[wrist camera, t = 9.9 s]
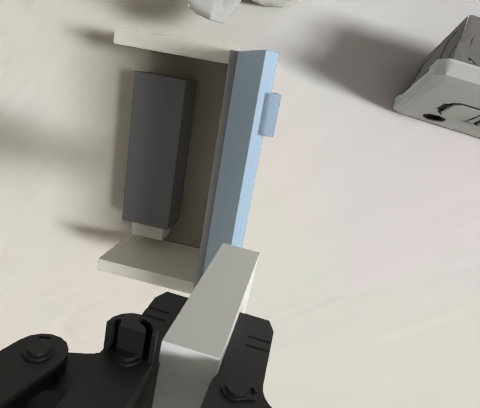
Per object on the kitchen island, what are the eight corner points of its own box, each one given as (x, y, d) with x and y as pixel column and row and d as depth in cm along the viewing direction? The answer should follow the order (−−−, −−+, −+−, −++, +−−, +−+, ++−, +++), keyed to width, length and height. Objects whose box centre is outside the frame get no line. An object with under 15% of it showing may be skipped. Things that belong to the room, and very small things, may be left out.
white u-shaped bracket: (150, 36, 33) (114, 27, 27) (260, 56, 31) (247, 50, 26) (131, 242, 38) (97, 269, 32) (224, 265, 37) (206, 297, 31)
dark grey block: (150, 72, 33) (135, 71, 31) (197, 81, 33) (185, 80, 30) (135, 223, 38) (120, 234, 35) (177, 233, 37) (165, 245, 34)
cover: (257, 48, 18) (289, 54, 18) (229, 50, 25) (252, 54, 26) (202, 369, 24) (227, 369, 24) (191, 296, 31) (211, 297, 31)
